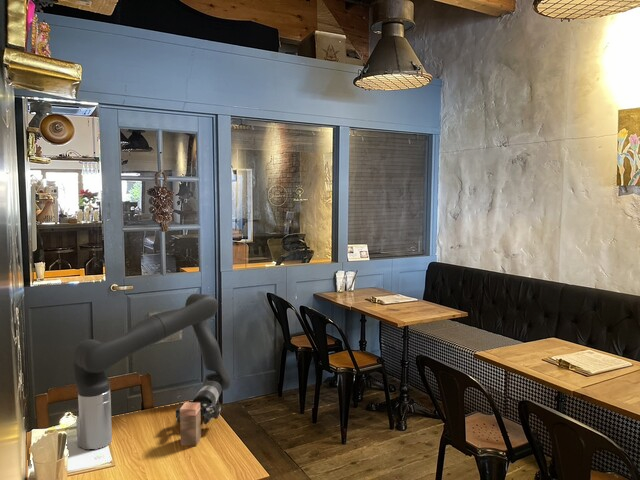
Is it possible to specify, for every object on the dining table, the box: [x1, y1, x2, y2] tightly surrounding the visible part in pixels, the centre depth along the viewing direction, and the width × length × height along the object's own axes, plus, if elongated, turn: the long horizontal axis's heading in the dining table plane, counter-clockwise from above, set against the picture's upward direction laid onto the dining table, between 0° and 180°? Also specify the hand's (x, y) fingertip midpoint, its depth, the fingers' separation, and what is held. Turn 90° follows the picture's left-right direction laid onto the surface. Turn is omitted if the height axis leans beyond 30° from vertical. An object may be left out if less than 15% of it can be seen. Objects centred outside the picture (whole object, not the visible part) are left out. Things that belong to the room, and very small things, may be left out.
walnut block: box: [179, 401, 202, 447], centre depth 155 cm, size 5×5×12 cm
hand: (192, 421), depth 157 cm, fingers open, 8 cm apart
